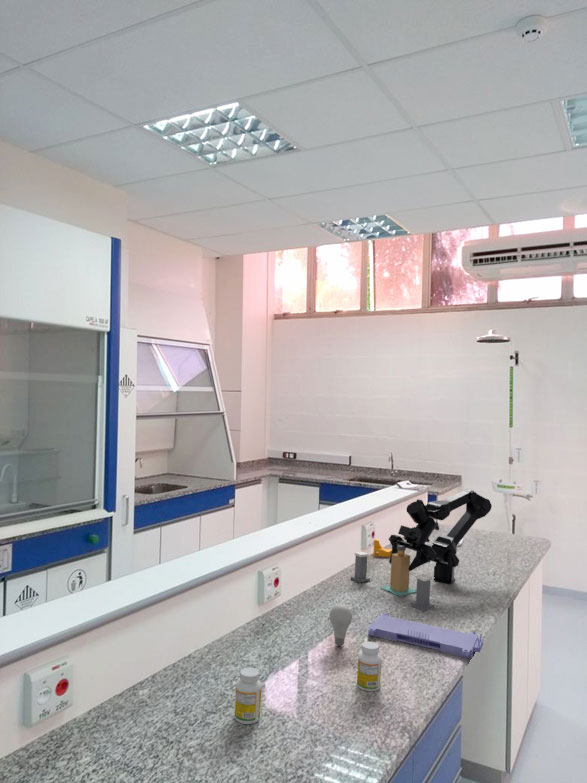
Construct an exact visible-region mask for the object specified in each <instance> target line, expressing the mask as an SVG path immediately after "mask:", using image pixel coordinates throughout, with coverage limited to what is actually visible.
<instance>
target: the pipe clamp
mask: <svg viewBox="0 0 587 783" xmlns="http://www.w3.org/2000/svg"><path fill="white" fill-rule="evenodd" d="M374 539H375V540H374ZM374 539H373V553H374V554H373V557H376V556H383V557H382V558H390V556H391V552H392V548H390V549H389V548H388V549H387V548H385V547H383V545H381V543H380V539H379V538H374Z"/></svg>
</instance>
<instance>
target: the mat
mask: <svg viewBox="0 0 587 783" xmlns="http://www.w3.org/2000/svg"><path fill="white" fill-rule="evenodd" d="M381 588H383V589H385V590H384V591H386V590H387V591H386V592H388V591H390V592H392V593H391V594H393V593H394V594H393V595H395V594H396V596H397V595H398V596H397V597H403V596H402V595H404V596H407V595H406V594H408V595H411V594H416V592H417V589H414V588H412V587H409V590H407V591H402V592H398V591H395V590H393V589H391V588H390V585H386V586H381V587H380V589H381ZM383 589H382V590H383ZM390 592H389V593H390Z"/></svg>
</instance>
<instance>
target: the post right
mask: <svg viewBox="0 0 587 783" xmlns="http://www.w3.org/2000/svg"><path fill="white" fill-rule="evenodd" d="M369 555H370V554H369V553H367V552H364V551H357V552H356V551H355V552H354V556H355V561H354V563H355V564H354V575H351V576H350V580H352V581H354V582H356V581H357V582H356V583H358V582H359V583H358V584H362V583H361V582H363V583H367V582H366V581H368V582H371V577H369V576H367V568H368V567H367V566H368V557H369Z"/></svg>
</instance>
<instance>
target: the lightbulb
mask: <svg viewBox="0 0 587 783" xmlns="http://www.w3.org/2000/svg"><path fill="white" fill-rule="evenodd" d="M328 616H329V621H330V624H331V625H332V628H333V636H334V644H335V645H337V646H338V647H342V646H344V644H345V639H346V636H347V631H348V628H349V627H350V625H351V623H352V620H353V612H352V611H351V609H350V608H349V607H348V606H347V605H344V604H337V605H335V606H333V607H331V610H330V612H329V615H328Z"/></svg>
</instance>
